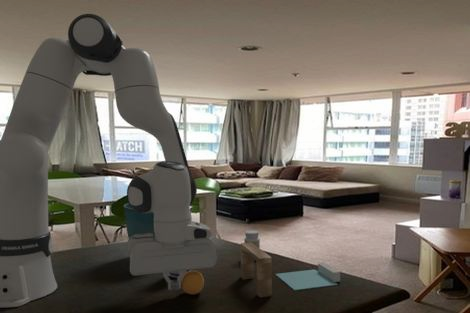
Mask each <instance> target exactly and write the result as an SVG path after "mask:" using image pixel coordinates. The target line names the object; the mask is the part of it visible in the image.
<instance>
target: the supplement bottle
mask: <svg viewBox="0 0 470 313" xmlns="http://www.w3.org/2000/svg"><path fill="white" fill-rule="evenodd" d="M244 236H245V238H244V243H249V242H251V243H253V244H254V245H255V246H257V247H258V248H260V249H261V247H260V237H259V231H258V230H254V229H253V230H252V229H251V230H246V231H245V235H244ZM254 261H256V260H255V259H254Z"/></svg>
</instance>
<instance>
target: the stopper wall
mask: <svg viewBox="0 0 470 313" xmlns="http://www.w3.org/2000/svg"><path fill="white" fill-rule="evenodd" d="M317 271H318V272H319V273H321V274H323V275H324V276H326V277H327V278H329V279H330V280H332V281H333V282H335V283H338V282H341V271H340V270H338V269H337V268H334V267H332V266H331V265H329V264H328V263H326V262H320V263H319V262H318V263H317Z"/></svg>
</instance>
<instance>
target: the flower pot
mask: <svg viewBox="0 0 470 313" xmlns="http://www.w3.org/2000/svg"><path fill="white" fill-rule="evenodd" d="M123 209H124V217H125V227H126V233H127V237H128V239H129V238H130V237H132V236H134V234H144V233H151V232H154V213H137V212H136V211H134V210H133V209H132V208H131V207H130V205H129V203H128V202H127V203H124V205H123ZM132 239H134V238H132Z"/></svg>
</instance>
